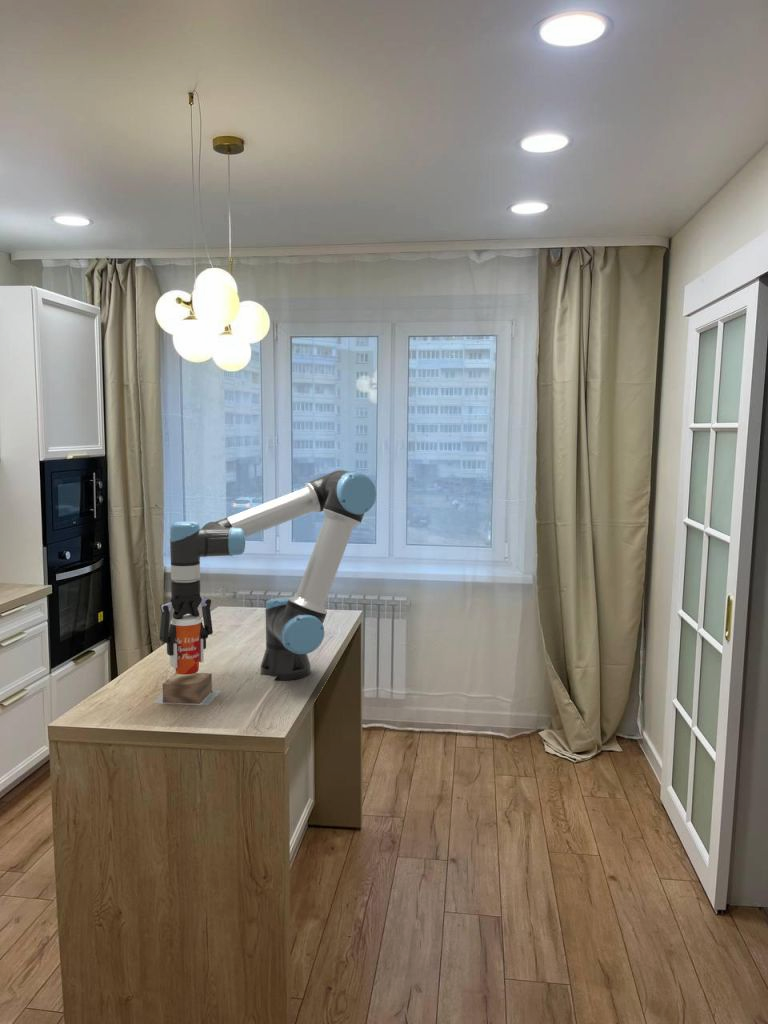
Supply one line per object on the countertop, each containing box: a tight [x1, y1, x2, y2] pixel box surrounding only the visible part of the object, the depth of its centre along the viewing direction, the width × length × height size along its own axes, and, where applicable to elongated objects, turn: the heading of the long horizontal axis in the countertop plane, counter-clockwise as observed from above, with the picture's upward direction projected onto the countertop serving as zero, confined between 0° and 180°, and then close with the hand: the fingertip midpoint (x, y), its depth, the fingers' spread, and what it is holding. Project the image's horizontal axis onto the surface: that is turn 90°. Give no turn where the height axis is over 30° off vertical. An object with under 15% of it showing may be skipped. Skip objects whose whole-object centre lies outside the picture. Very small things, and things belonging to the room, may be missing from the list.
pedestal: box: [162, 672, 213, 704], centre depth 197 cm, size 10×10×5 cm
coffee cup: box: [169, 614, 204, 675], centre depth 196 cm, size 8×8×15 cm
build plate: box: [152, 689, 222, 706], centre depth 197 cm, size 15×11×1 cm
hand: (187, 663), depth 196 cm, fingers closed on coffee cup, 7 cm apart
